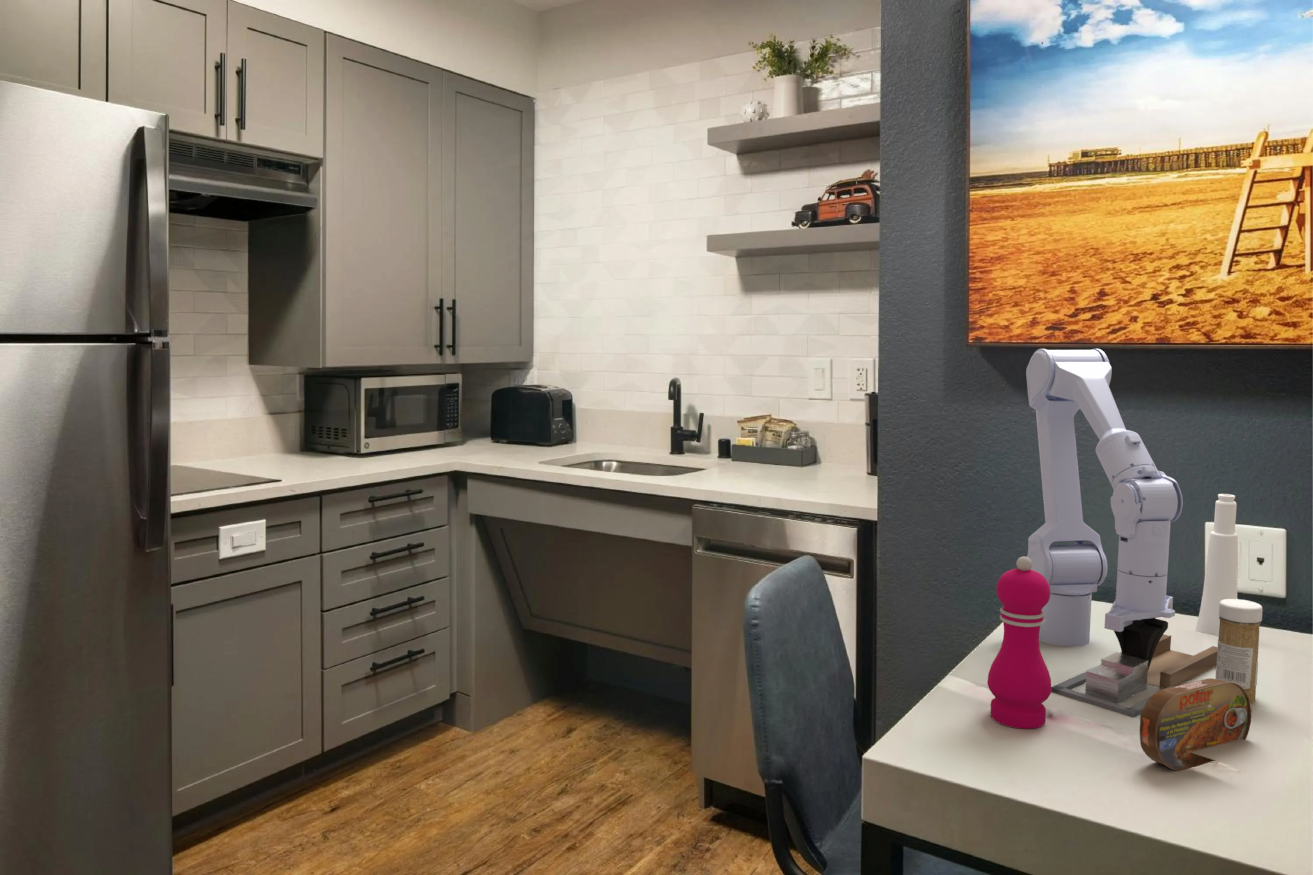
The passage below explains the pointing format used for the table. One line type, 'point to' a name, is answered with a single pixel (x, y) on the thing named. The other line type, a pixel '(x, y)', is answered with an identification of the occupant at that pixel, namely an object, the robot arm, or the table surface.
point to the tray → (1080, 679)
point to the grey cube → (1130, 668)
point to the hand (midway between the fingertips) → (1136, 674)
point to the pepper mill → (1020, 650)
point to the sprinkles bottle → (1239, 644)
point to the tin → (1193, 721)
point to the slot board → (1177, 664)
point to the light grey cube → (1109, 683)
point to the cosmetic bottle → (1219, 565)
